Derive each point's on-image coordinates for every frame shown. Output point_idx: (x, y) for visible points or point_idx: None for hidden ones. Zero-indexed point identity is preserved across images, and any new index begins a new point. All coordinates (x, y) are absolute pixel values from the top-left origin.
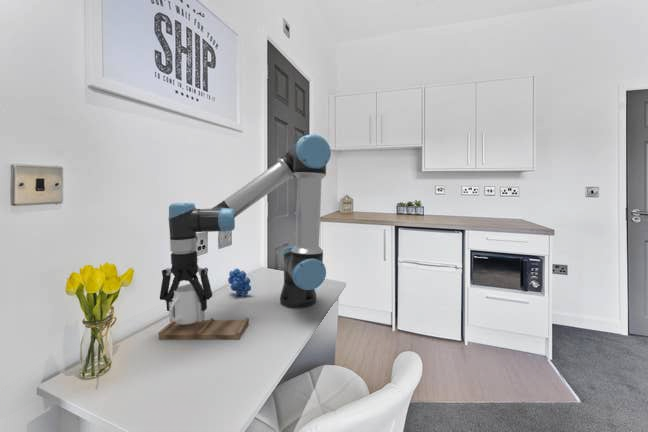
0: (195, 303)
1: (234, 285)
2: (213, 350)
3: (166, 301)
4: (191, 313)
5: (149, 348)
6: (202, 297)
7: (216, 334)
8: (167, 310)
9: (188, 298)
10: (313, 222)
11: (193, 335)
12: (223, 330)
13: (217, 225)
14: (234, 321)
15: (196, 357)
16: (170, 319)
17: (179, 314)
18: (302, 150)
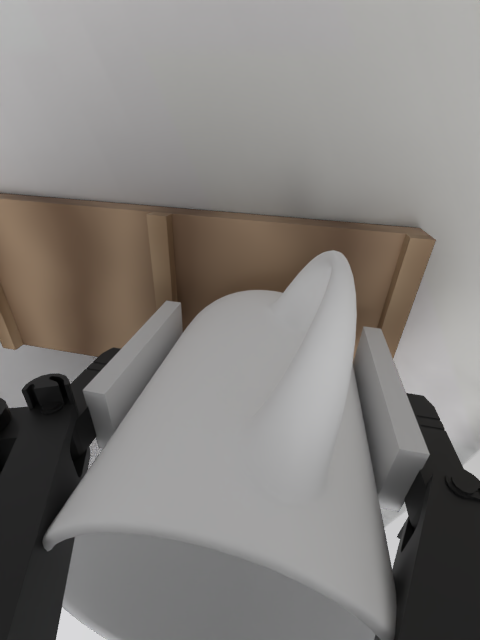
0: (142, 395)
1: None
2: (30, 66)
3: (464, 471)
4: (198, 329)
5: (453, 103)
6: (24, 426)
7: (66, 206)
8: (424, 399)
9: (154, 429)
10: None
11: (196, 214)
12: (58, 250)
13: None
14: (62, 336)
15: None
16: (379, 338)
17: (293, 328)
18: None
